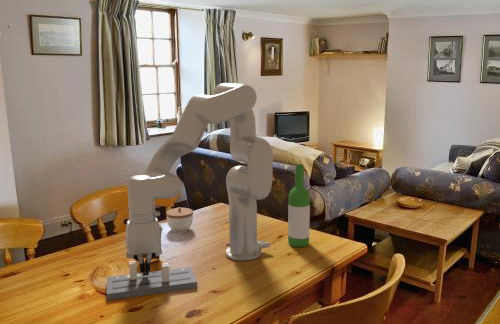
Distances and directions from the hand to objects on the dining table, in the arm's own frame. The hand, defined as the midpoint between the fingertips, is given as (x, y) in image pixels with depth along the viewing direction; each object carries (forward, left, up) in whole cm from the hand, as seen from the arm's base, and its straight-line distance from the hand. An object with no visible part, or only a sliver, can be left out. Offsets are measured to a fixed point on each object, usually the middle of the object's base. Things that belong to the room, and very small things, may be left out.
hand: (145, 273), depth 144 cm
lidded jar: (-17, -44, -4) cm, 47 cm away
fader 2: (-6, +4, -1) cm, 7 cm away
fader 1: (+4, 0, -1) cm, 4 cm away
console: (-2, +2, -3) cm, 4 cm away
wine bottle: (-57, -16, -3) cm, 59 cm away
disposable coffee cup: (-3, -18, -4) cm, 19 cm away
